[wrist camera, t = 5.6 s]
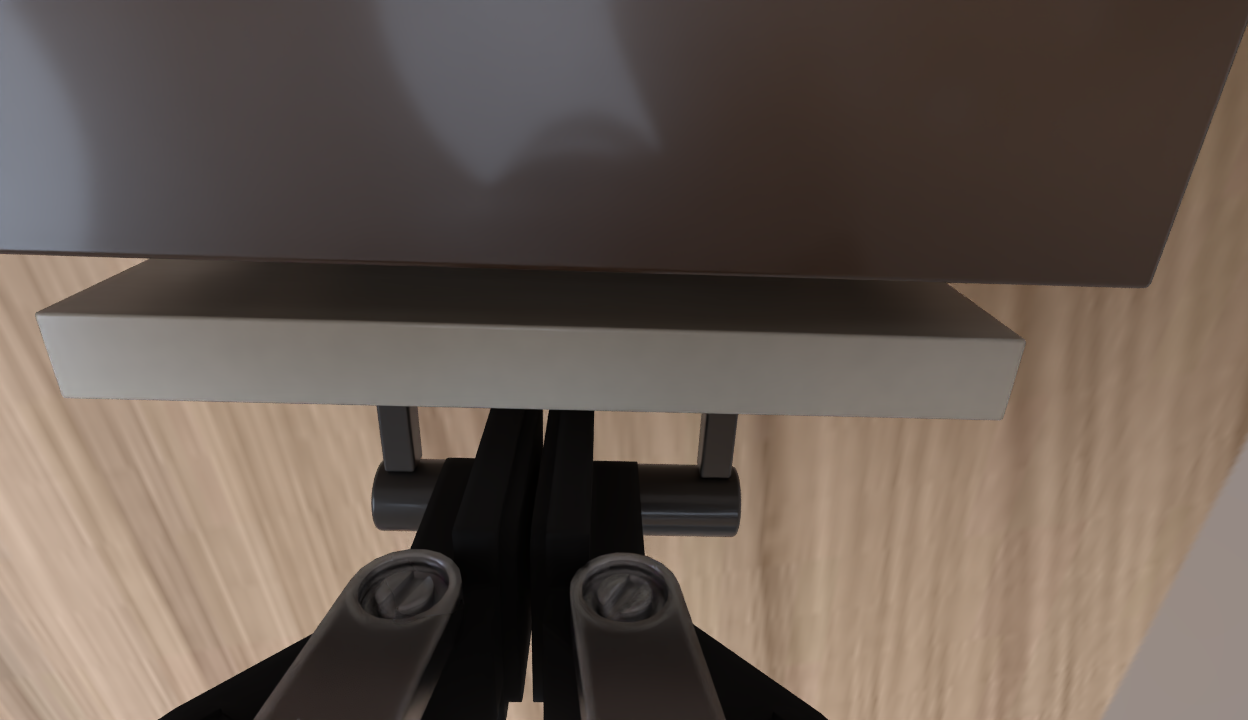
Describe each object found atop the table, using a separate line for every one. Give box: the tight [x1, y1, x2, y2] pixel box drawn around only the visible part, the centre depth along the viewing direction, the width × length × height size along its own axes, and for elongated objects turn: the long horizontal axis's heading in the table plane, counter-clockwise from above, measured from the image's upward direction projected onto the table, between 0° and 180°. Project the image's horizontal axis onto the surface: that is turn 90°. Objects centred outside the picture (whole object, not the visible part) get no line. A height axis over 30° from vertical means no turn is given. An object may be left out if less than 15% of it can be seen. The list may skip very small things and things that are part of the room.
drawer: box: [35, 258, 1026, 537], centre depth 11 cm, size 19×12×9 cm, turn 178°
